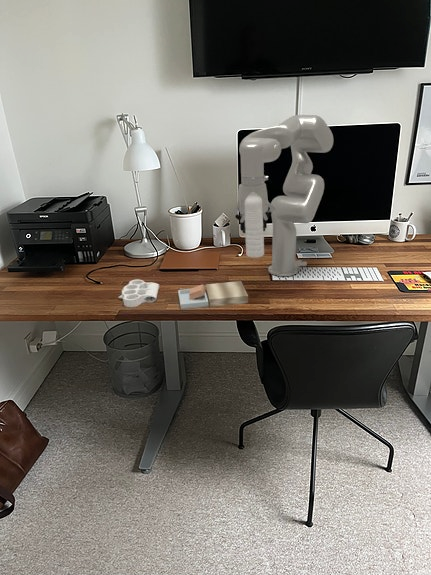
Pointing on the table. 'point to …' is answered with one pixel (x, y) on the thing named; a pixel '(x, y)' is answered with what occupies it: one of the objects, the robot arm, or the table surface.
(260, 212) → the water bottle
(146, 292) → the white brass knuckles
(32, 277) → the table surface
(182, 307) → the box
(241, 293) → the birch plate
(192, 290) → the terracotta tile
